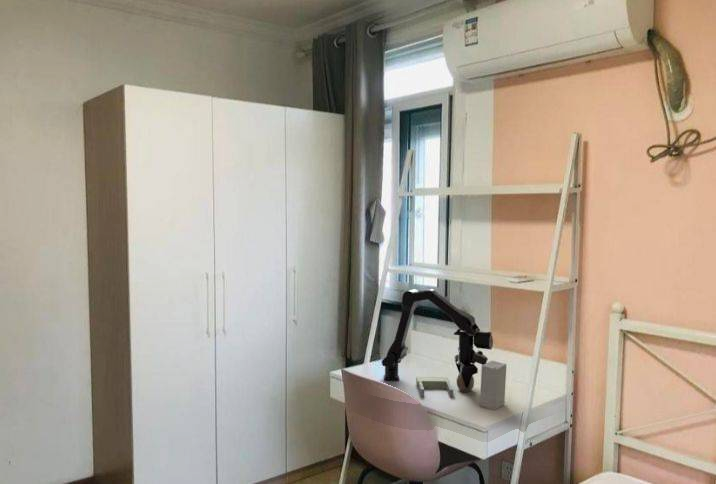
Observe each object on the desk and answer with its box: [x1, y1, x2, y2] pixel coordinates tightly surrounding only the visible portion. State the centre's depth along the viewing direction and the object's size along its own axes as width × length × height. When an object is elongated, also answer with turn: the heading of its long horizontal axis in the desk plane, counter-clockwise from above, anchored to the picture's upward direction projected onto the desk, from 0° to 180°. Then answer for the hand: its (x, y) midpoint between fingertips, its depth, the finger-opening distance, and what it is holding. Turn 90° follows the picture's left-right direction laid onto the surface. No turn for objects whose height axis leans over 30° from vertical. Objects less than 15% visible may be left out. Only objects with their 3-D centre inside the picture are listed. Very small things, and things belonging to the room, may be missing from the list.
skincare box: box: [479, 360, 507, 411], centre depth 211 cm, size 8×7×16 cm
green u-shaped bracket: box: [415, 376, 454, 398], centre depth 229 cm, size 17×13×3 cm
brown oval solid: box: [456, 373, 475, 393], centre depth 229 cm, size 7×7×9 cm
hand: (465, 384), depth 229 cm, fingers closed on brown oval solid, 7 cm apart
